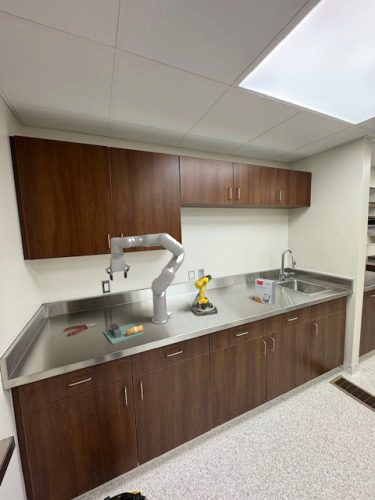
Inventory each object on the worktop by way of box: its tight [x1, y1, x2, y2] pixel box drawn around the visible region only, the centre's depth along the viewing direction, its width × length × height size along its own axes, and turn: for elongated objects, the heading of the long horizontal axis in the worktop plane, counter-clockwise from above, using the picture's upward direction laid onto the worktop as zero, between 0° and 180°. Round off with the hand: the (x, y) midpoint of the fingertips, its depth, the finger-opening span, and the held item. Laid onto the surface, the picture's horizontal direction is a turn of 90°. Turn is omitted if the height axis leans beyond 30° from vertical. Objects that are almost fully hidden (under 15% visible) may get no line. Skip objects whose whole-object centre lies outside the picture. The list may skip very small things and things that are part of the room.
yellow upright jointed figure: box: [191, 274, 219, 316], centre depth 169 cm, size 18×19×28 cm
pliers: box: [63, 322, 98, 337], centre depth 145 cm, size 12×20×3 cm, turn 132°
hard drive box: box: [254, 277, 276, 306], centre depth 184 cm, size 16×8×20 cm, turn 42°
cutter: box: [108, 323, 122, 338], centre depth 135 cm, size 4×13×4 cm, turn 36°
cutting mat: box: [103, 322, 145, 345], centre depth 136 cm, size 20×19×5 cm
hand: (118, 279), depth 149 cm, fingers open, 9 cm apart
